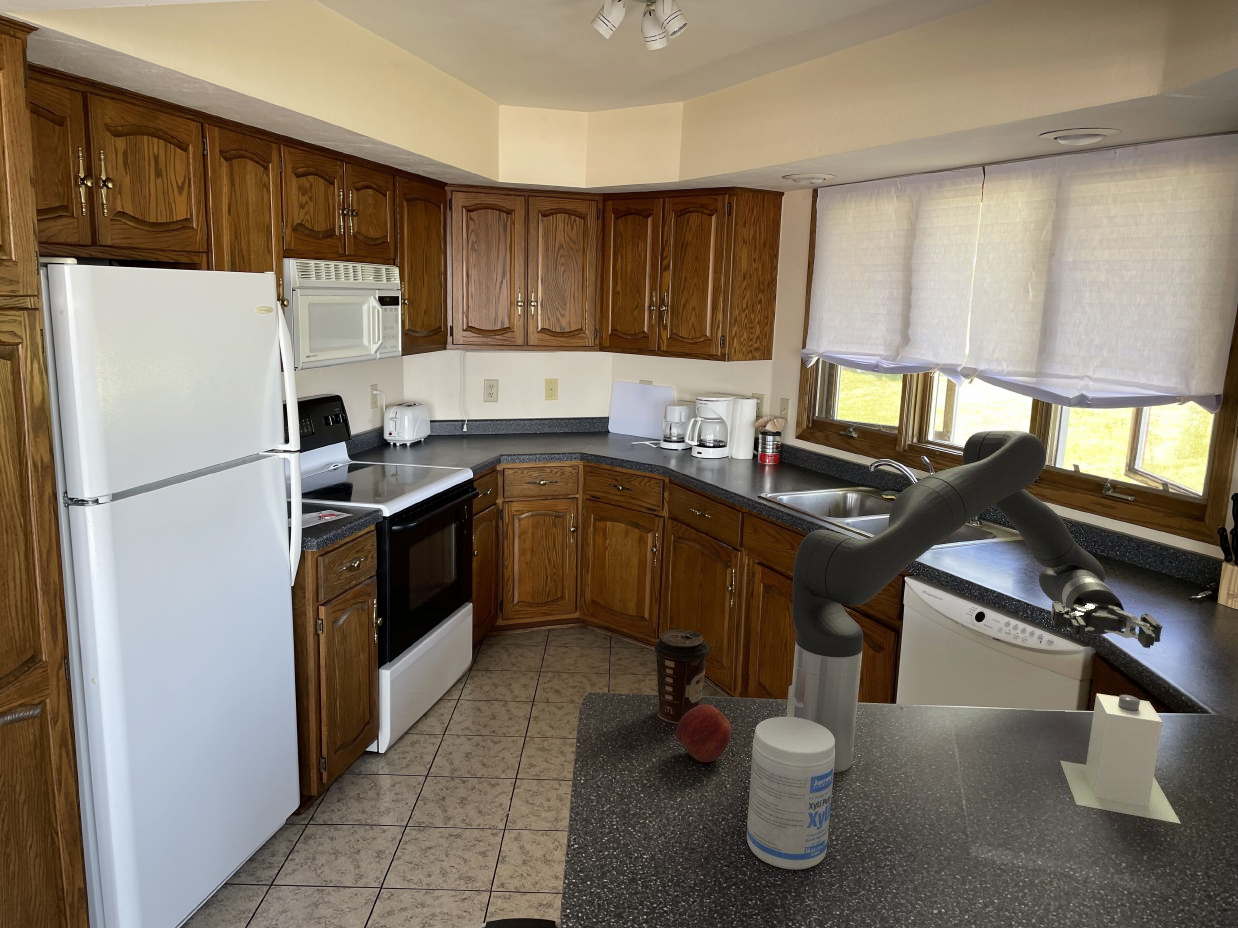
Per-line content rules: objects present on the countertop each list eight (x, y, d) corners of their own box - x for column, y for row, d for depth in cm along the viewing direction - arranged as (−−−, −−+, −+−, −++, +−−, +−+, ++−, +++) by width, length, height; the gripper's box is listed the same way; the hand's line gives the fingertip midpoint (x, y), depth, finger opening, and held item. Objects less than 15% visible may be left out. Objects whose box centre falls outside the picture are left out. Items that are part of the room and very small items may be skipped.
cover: (1094, 796, 115) (1108, 704, 113) (1084, 773, 121) (1097, 685, 119) (1148, 806, 113) (1163, 713, 111) (1136, 782, 120) (1150, 692, 117)
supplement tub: (822, 881, 98) (833, 761, 95) (739, 862, 100) (747, 745, 98) (829, 833, 107) (839, 722, 104) (752, 817, 109) (760, 709, 107)
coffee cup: (706, 705, 140) (710, 629, 138) (706, 729, 132) (711, 649, 130) (652, 701, 141) (656, 625, 139) (649, 725, 133) (653, 645, 130)
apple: (727, 775, 119) (731, 721, 118) (671, 768, 120) (674, 714, 119) (730, 748, 126) (733, 697, 125) (677, 742, 128) (680, 691, 126)
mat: (1075, 811, 114) (1076, 804, 113) (1059, 766, 125) (1060, 760, 125) (1179, 830, 110) (1180, 823, 110) (1153, 782, 121) (1154, 776, 121)
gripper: (1046, 575, 141) (1064, 604, 126) (1144, 588, 137) (1175, 619, 122) (1039, 619, 142) (1057, 653, 127) (1136, 633, 138) (1167, 669, 123)
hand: (1115, 636), depth 124 cm, fingers open, 8 cm apart
